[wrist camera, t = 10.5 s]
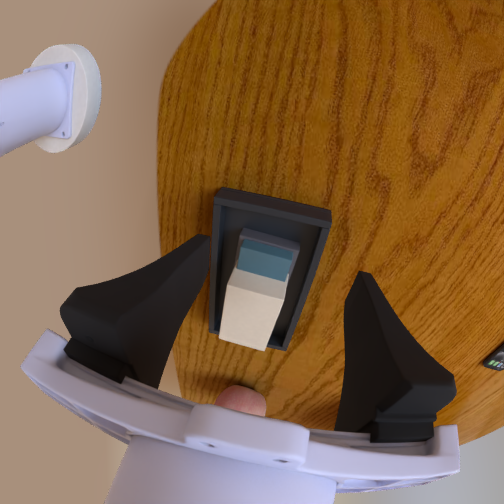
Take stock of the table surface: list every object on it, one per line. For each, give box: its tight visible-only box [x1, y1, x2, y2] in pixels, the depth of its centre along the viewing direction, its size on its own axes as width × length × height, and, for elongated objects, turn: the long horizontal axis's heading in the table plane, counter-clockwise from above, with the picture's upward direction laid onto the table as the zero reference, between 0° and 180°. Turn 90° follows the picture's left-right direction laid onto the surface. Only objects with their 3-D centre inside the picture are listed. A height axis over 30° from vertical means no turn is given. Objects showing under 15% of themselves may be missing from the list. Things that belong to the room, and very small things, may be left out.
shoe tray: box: [209, 187, 332, 351], centre depth 25 cm, size 16×9×2 cm, turn 173°
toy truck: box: [219, 228, 300, 351], centre depth 24 cm, size 10×5×4 cm, turn 170°
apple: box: [214, 385, 266, 417], centre depth 37 cm, size 8×8×8 cm
